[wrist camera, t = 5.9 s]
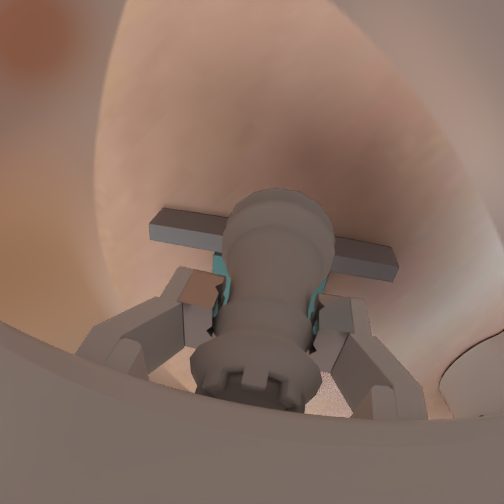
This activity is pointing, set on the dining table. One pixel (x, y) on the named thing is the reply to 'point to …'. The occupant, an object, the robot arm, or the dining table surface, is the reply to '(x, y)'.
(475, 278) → the dining table surface
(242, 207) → the rook chess piece
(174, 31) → the dining table surface
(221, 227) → the low wall
